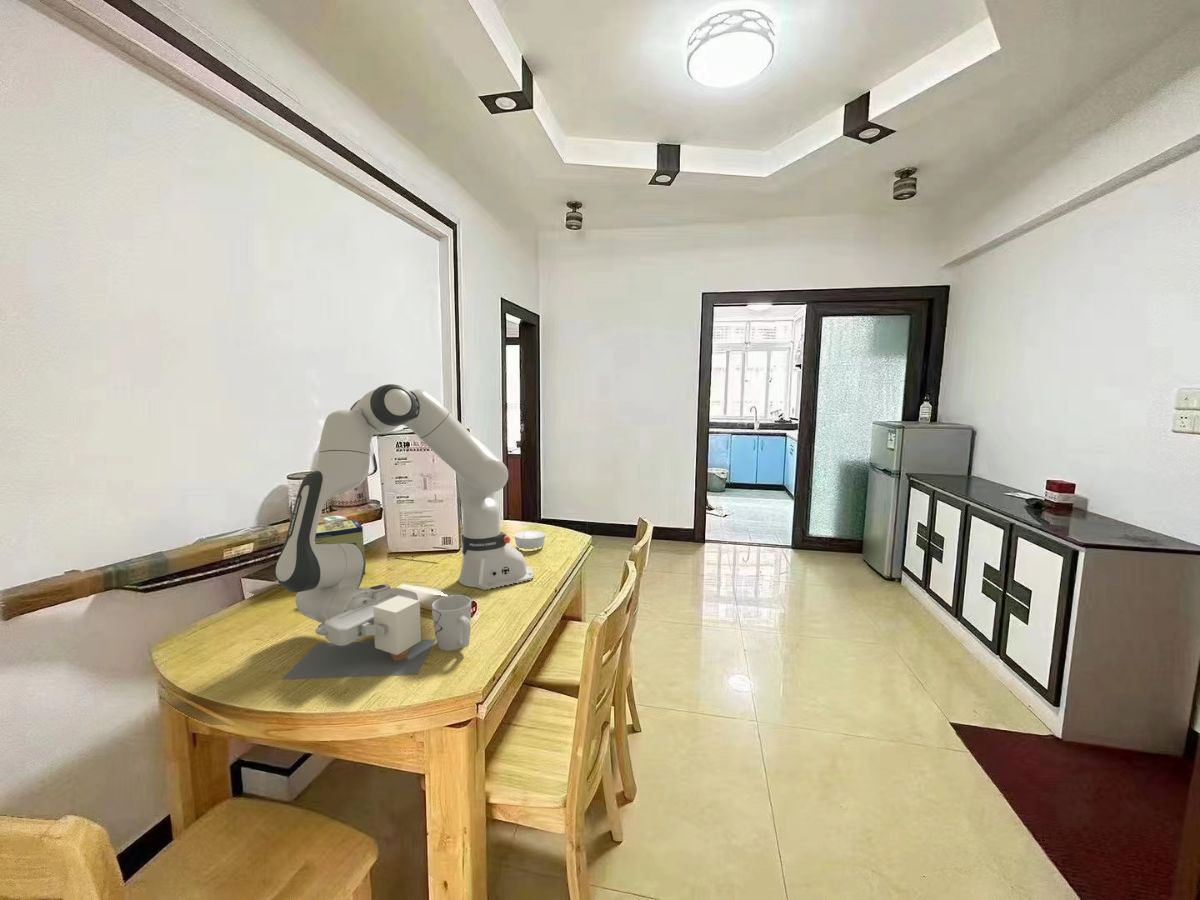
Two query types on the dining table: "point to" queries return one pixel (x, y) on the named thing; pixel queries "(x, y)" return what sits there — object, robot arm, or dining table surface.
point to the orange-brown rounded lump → (400, 655)
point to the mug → (452, 621)
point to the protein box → (340, 533)
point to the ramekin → (530, 539)
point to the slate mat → (358, 661)
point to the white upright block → (398, 624)
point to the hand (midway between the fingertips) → (400, 622)
